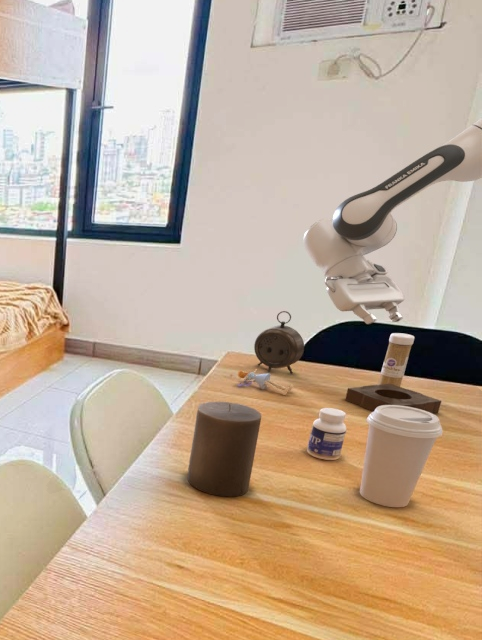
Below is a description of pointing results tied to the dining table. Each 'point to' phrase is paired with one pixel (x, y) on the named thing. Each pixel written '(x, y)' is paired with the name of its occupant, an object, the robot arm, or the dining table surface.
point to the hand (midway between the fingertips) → (385, 321)
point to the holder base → (391, 397)
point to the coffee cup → (396, 453)
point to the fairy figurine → (263, 381)
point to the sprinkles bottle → (396, 359)
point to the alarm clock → (279, 346)
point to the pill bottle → (327, 434)
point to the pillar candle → (223, 448)
